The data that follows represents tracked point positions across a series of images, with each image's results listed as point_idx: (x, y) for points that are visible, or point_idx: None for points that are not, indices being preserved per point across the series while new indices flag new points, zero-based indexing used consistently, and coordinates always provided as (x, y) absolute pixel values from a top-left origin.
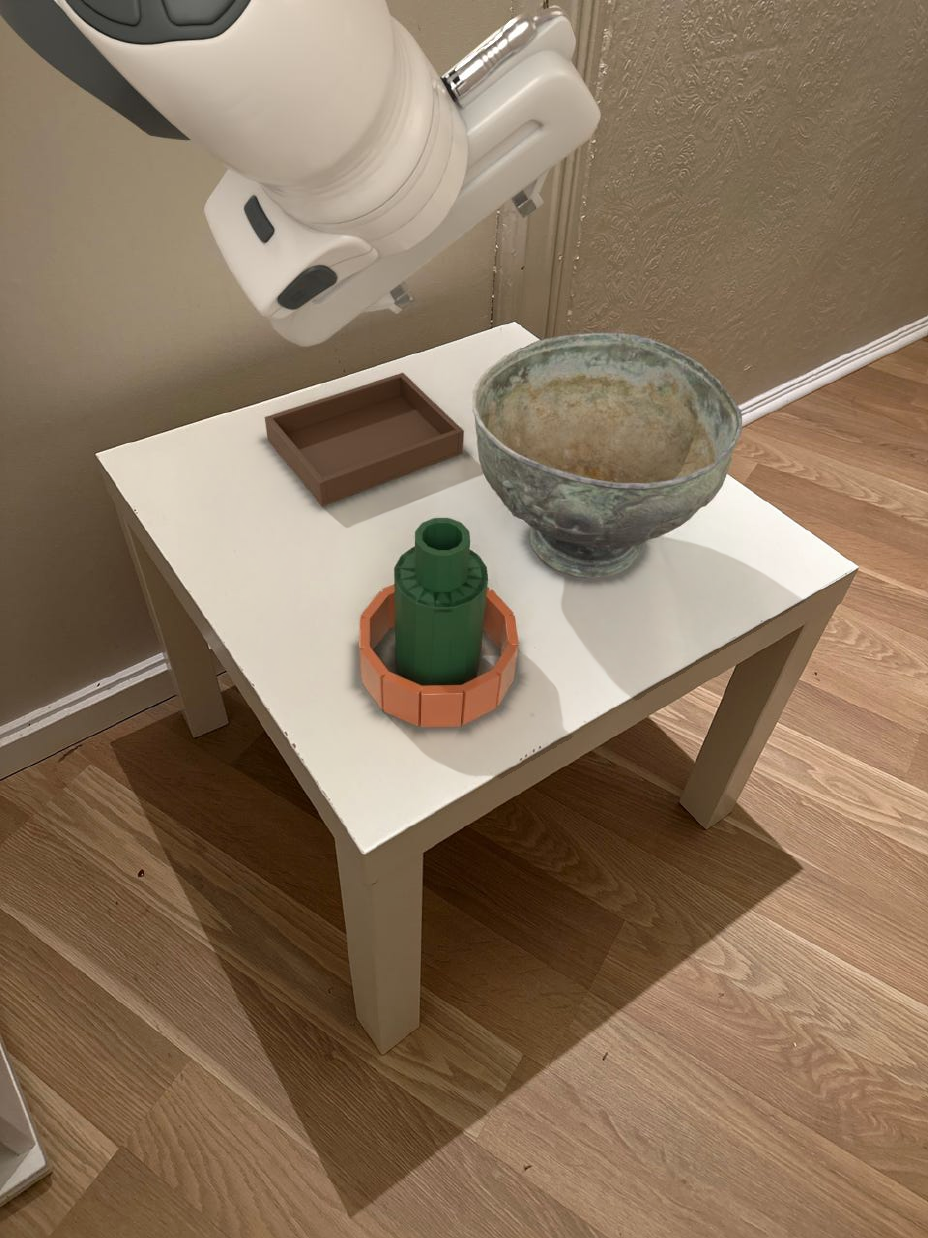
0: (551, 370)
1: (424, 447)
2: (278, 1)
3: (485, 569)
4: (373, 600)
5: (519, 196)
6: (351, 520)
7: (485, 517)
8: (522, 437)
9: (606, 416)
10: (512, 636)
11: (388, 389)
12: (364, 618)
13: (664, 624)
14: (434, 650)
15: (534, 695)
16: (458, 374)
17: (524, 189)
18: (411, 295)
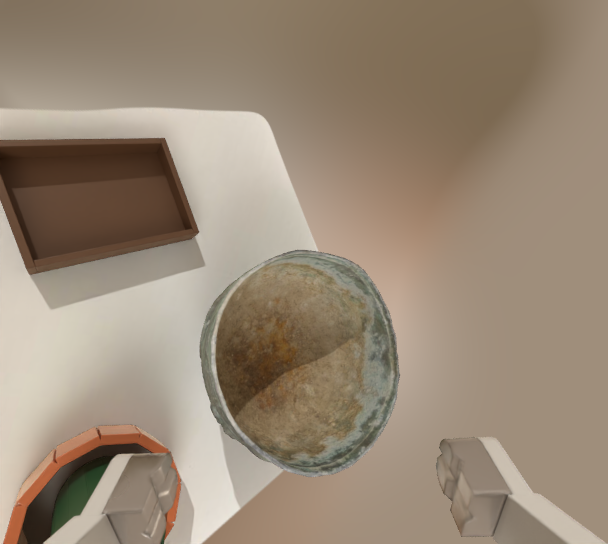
0: (289, 260)
1: (158, 241)
2: None
3: (163, 535)
4: (39, 477)
5: (483, 526)
6: (60, 300)
7: (190, 317)
8: (243, 292)
9: (307, 286)
10: (172, 512)
11: (145, 148)
12: (19, 508)
13: None
14: None
15: (175, 520)
16: (212, 145)
17: (505, 532)
18: (172, 492)
